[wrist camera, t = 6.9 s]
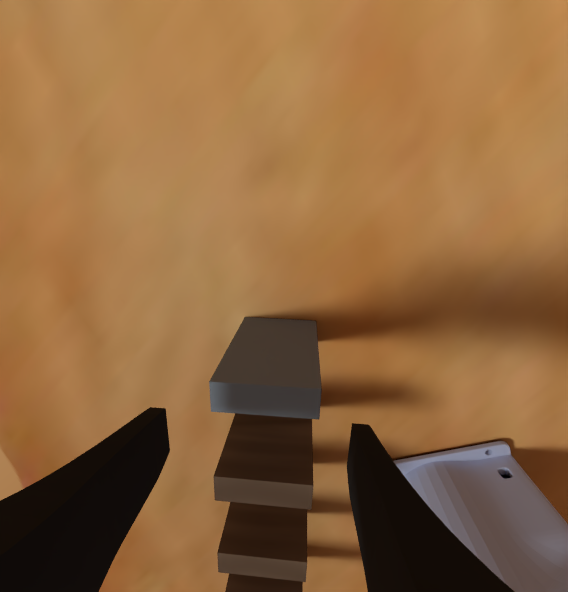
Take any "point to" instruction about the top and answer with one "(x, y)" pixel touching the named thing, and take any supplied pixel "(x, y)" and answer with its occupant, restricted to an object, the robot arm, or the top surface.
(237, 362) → the domino
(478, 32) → the top surface
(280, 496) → the domino
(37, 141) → the top surface
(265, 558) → the domino
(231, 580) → the domino
